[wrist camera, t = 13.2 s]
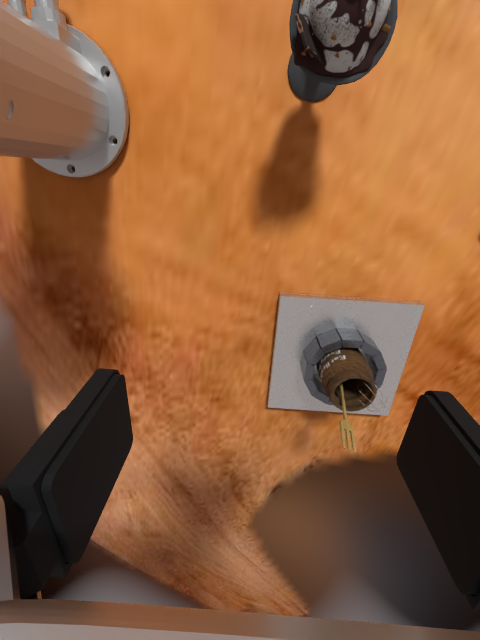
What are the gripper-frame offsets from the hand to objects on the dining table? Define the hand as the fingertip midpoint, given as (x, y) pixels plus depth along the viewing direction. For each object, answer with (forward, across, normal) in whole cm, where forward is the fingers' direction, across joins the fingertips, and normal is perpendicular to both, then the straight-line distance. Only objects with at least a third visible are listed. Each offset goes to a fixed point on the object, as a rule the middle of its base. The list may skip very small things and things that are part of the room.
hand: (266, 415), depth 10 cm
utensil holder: (+27, -11, +14) cm, 33 cm away
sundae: (+28, -4, -16) cm, 33 cm away
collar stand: (+28, -12, +14) cm, 34 cm away
